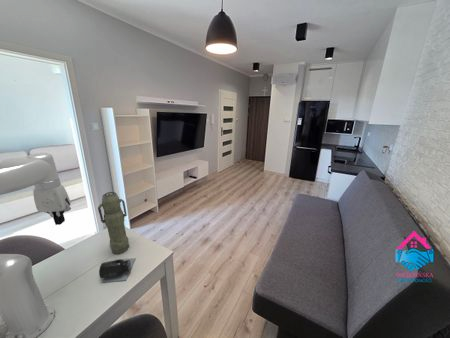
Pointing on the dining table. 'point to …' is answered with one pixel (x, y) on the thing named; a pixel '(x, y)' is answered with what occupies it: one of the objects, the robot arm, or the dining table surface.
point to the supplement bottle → (114, 268)
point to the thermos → (114, 222)
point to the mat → (123, 276)
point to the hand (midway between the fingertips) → (60, 222)
